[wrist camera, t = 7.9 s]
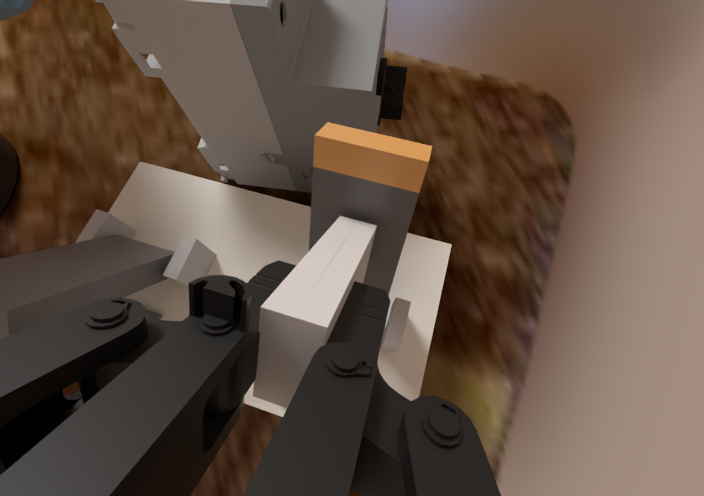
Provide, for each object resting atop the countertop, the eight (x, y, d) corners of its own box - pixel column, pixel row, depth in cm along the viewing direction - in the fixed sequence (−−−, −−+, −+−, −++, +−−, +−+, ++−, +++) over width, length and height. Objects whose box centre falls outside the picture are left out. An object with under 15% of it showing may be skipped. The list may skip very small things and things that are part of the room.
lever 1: (127, 252, 20) (-85, 312, 12) (128, 230, 20) (-91, 276, 11) (188, 270, 20) (11, 347, 11) (190, 249, 19) (9, 311, 11)
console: (99, 337, 24) (-13, 322, 16) (177, 197, 28) (114, 136, 20) (395, 440, 21) (413, 476, 14) (434, 268, 25) (464, 227, 18)
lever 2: (303, 315, 18) (311, 134, 11) (312, 297, 19) (325, 121, 12) (377, 338, 17) (431, 162, 11) (382, 318, 18) (435, 147, 12)
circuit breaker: (388, 202, 27) (417, 18, 13) (222, 182, 28) (84, -8, 14) (396, 129, 30) (430, -89, 16) (245, 113, 31) (148, -104, 17)
